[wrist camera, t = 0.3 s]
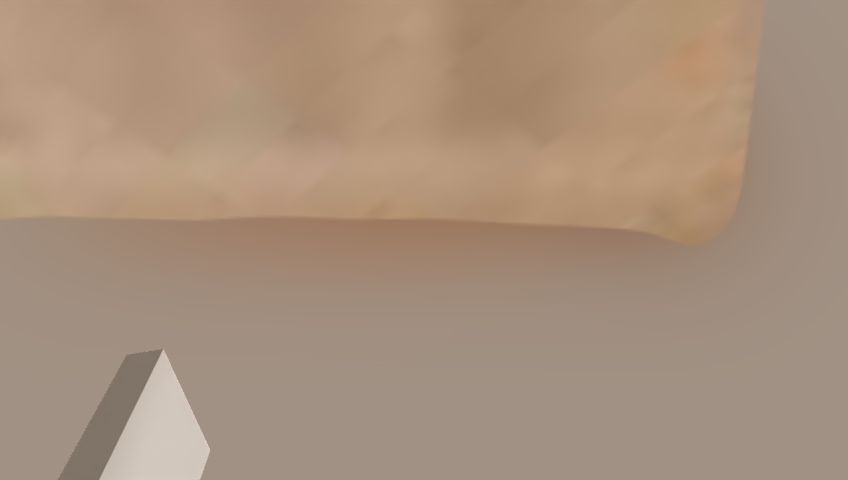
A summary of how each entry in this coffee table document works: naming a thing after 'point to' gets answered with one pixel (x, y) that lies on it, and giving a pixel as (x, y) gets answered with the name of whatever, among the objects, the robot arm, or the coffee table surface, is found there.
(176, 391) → the robot arm
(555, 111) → the coffee table surface
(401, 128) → the coffee table surface
